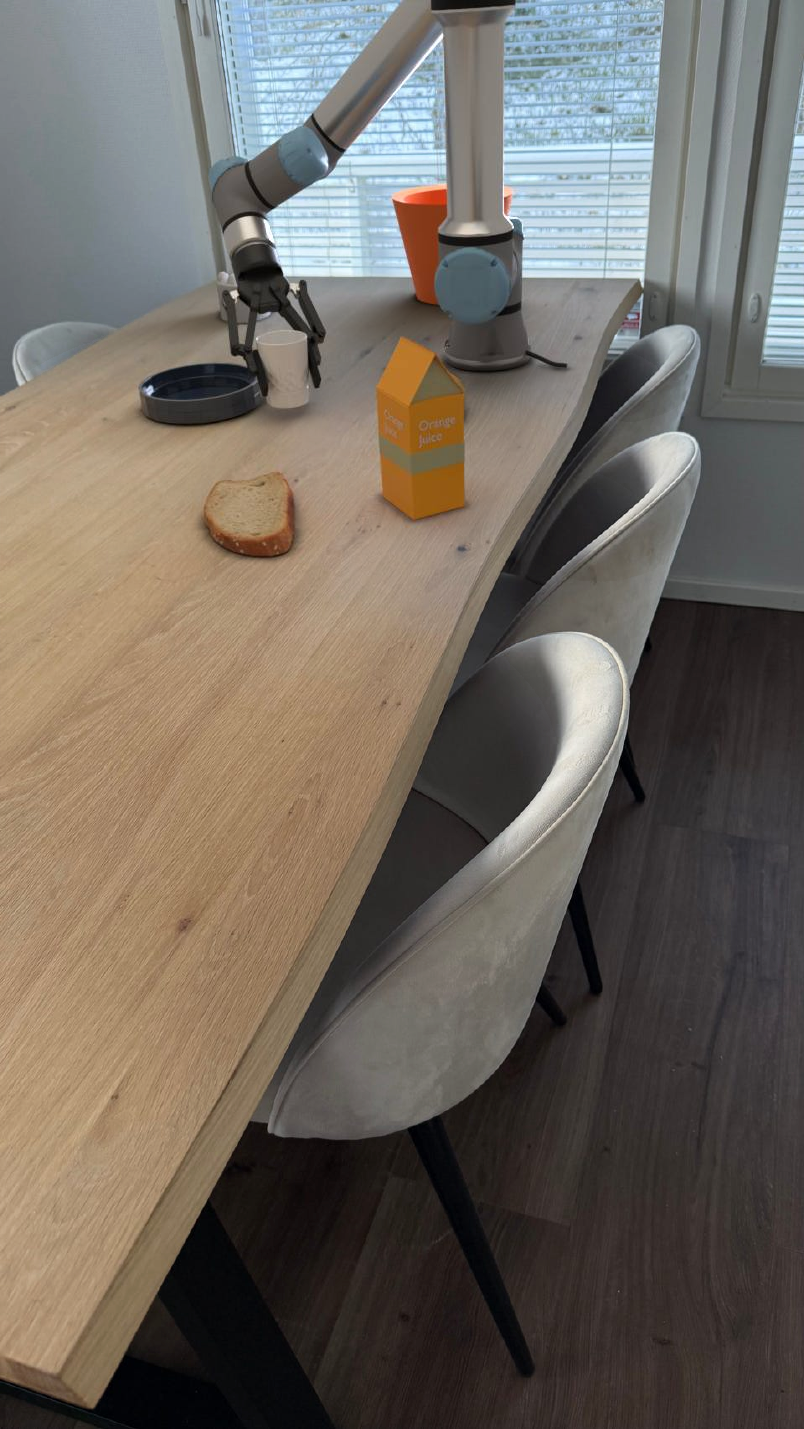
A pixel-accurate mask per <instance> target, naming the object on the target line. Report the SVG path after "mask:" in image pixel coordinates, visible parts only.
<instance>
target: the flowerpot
mask: <svg viewBox="0 0 804 1429" xmlns="http://www.w3.org/2000/svg"><path fill="white" fill-rule="evenodd" d="M514 191H515V190H514V189H513V188H511V187H509V186H505V185H504V214H505V216H506V217H509V214H510V209H511V204H512V199H513V195H514ZM391 200H392V205H393V209H394V212H395V216H396V220H397V224H398V228H399V233H400V236H401V239H402V245H403V247H404V251H405V255H406V256H405V257H406V260H407V263H408V267H409V271H410V275H411V280H412V283H413V286H414V291H415V295H416V298H417V300H418V301H420V302H422V303H425V304H429V305H437V306H440V305H439V303H438V301H437V298H436V295H435V289H434V278H435V273H436V271H437V267H438V265H439V250H438V228H439V227H440V225H441V224H442V223H443V222H444V221H445V219H446V218H447V183H442V184H432V185H431V184H430V185H423V186H416V187H411V188H408V189H403V190H400V191H397V192H395V193H393V194H392V195H391Z"/></svg>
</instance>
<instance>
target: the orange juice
mask: <svg viewBox="0 0 804 1429" xmlns="http://www.w3.org/2000/svg"><path fill="white" fill-rule="evenodd" d="M450 374H451V373H450V371H449V370H448V369H447V368H446V366H445V365H444V364H443V362H442V361H441V359H440V358H439V356H438V355H437V354H436V351H432V350H430V349H429V348H426V347H425V346H422V345H420V344H419V343H416V342H415V341H412V340H411V339H408V338H406V337H404V336H402V335H400V338H399V341H398V343H397V346H396V347H395V349H394V352H393V353H392V355H391V357H390V359H389V361H388V363H387V364H386V368H385V369H384V371H383V374H382V376H381V377H380V380H379V381H378V383H377V385H375V392H376V409H377V425H378V426H377V427H378V428H377V429H378V448H379V457H380V458H379V459H380V474H381V491H382V497H383V498H384V499H385V500H387V501H388V502H390V504H392V505H393V506H395V507H396V508H397V509H398V510H400V511H401V512H402V513H403V514H404V515H407V517H409V518H410V519H411V520H414V521H415V520H418V519H419V520H420V519H422V518H426V517H429V516H435V515H438V514H441V513H445V512H449V511H452V510H456V509H459V508H463V507H465V506H466V503H465V502H466V499H465V497H466V493H465V491H466V490H465V489H466V487H465V462H466V461H465V460H466V459H465V458H466V457H465V456H466V455H465V454H466V453H465V452H466V449H465V446H466V445H465V405H464V393H463V392H462V390H461V389H460V387H459V386H458V385H457V383H456V382H455V380H454V379H453V378H452V376H451V375H450Z"/></svg>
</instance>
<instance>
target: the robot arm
mask: <svg viewBox="0 0 804 1429" xmlns="http://www.w3.org/2000/svg"><path fill="white" fill-rule="evenodd" d="M516 1H517V0H402V1H401V2H400V3H399V4H398V5H397V7H396V8H395V9H394V10H393V11H392V13H391V14H390V16H389V17H388V18H387V19H386V20H385V22H384V23H383V24H382V25H381V27H380V28H379V29H378V31H377V32H376V33H375V34H374V36H372V38H371V39H370V41H369V42H367V44H366V45H365V47H364V48H363V49H362V50H361V51H360V53H359V54H358V55H357V56H356V58H355V59H354V60H353V61H352V63H351V64H350V65H349V67H348V68H347V69H346V70H345V72H344V73H343V74H342V75H341V76H340V78H339V79H338V80H337V82H336V83H335V84H334V85H333V87H332V88H331V89H330V90H329V92H328V93H327V94H326V95H325V96H324V98H323V99H322V100H321V102H320V103H319V104H318V105H317V107H316V108H315V109H314V110H313V112H312V113H311V114H310V115H309V117H308V118H307V119H306V120H305V121H304V123H303V124H301V125H299V126H297V127H296V128H294V129H292V130H290V131H288V132H286V133H284V134H283V135H282V136H281V137H280V138H279V139H277V140H276V141H275V142H274V143H272V144H271V145H269V146H268V147H266V148H265V149H264V150H263V151H261V152H260V153H259V154H258V155H256V156H255V157H254V158H252V159H250V160H249V161H248V160H247V158H244V157H242V156H237V155H230V156H228V157H227V158H226V159H224V158H220V159H218V160H217V161H216V162H215V163H213V165H212V166H211V168H210V169H209V171H208V175H207V176H208V177H207V180H208V186H209V190H210V198H211V202H212V204H213V207H214V209H215V213H216V215H217V219H218V221H219V225H220V229H221V233H222V236H223V240H224V243H225V247H226V251H227V254H228V258H229V260H230V262H231V263H230V265H231V269H233V272H234V276H235V279H236V283H237V290H234V291H231V292H229V291H228V290H223V292H222V301H221V303H222V305H223V307H224V309H225V311H226V313H227V321H226V323H227V331H228V340H229V350H230V355H231V356H232V357H238V356H240V357H242V360H244V361H245V364H246V366H247V368H248V371H249V374H250V375H251V376H255V375H256V376H257V380H258V383H259V387H260V390H261V394H262V398H266V397H267V395H268V389H269V387H268V383H267V380H266V376H265V373H264V370H263V366H262V363H261V359H260V356H259V352H258V349H257V348H256V349H253V345H254V339H255V332H256V327H257V326H256V325H257V321H256V320H257V314H258V313H259V314H265V313H267V312H271V313H278V315H279V316H280V317H281V318H283V319H284V320H285V321H286V322H287V324H288V325H289V326H290V328H291V330H295V331H301V332H304V333H305V334H306V335H307V345H308V365H309V376H310V378H311V381H312V384H313V389H314V390H315V389H320V387H321V383H322V375H321V372H320V369H319V366H321V363H322V355H321V352H320V348H319V344H320V345H322V344H324V342H325V339H326V335H327V331H326V328H325V326H324V324H323V322H322V320H321V318H320V316H319V314H318V311H317V310H316V308H315V306H314V303H313V301H312V299H311V297H310V295H309V292H308V283H307V280H304V279H300V280H299V282H298V283H297V282H289V281H290V280H288V278H286V276H285V274H284V270H283V267H282V264H281V261H280V257H279V253H278V250H277V247H276V243H275V240H274V238H273V237H274V236H273V233H272V231H271V228H270V223H269V220H268V214H269V213H270V212H272V211H273V210H275V209H276V208H277V207H279V206H280V205H282V204H283V203H285V202H286V201H288V200H289V199H292V198H293V197H294V196H296V195H297V194H299V193H301V192H302V191H304V190H305V189H307V188H308V187H310V186H312V185H313V184H315V183H317V182H319V181H321V180H324V179H325V178H327V177H328V176H329V175H330V174H331V173H332V172H333V171H334V170H335V168H336V166H337V165H338V162H339V160H341V159H342V157H343V156H344V154H345V153H346V152H347V151H348V149H349V148H350V147H351V146H352V145H353V143H354V142H355V141H356V140H357V139H358V137H359V136H360V135H361V134H362V133H363V132H364V130H365V129H366V128H367V127H368V126H369V125H370V123H371V122H372V121H373V120H374V119H375V118H376V116H377V115H379V113H380V112H381V110H382V109H383V108H384V107H385V106H386V104H388V102H389V101H390V100H391V99H392V98H393V96H394V95H395V94H396V93H397V92H398V90H400V88H401V87H402V86H403V85H404V84H405V82H406V81H407V80H408V79H409V78H410V76H412V74H413V73H414V72H415V71H416V69H417V68H418V67H419V66H420V65H421V64H422V62H423V61H424V60H425V59H426V57H427V56H428V55H429V54H430V53H431V52H432V50H433V49H434V48H435V47H436V46H437V45H438V43H439V42H440V41H441V40H442V56H443V57H442V58H443V60H442V62H443V64H442V65H443V98H444V99H443V100H444V102H443V104H444V137H445V141H444V142H445V173H446V174H445V176H446V177H445V179H446V181H445V182H446V184H447V218H446V219H445V221H444V222H443V223H442V224H441V225H440V227H439V228H438V250H439V265H438V267H437V271H436V273H435V278H434V289H435V295H436V298H437V301H438V303H439V305H438V306H439V307H440V308H441V310H442V311H443V312H444V313H445V314H446V315H447V316H448V317H449V318H451V319H452V323H451V326H450V330H449V333H448V338H447V339H446V340H445V341H444V346H443V347H444V361H445V362H446V364H448V365H449V366H451V367H454V368H455V369H458V370H459V369H460V370H464V371H465V370H466V371H473V372H493V371H494V372H495V371H496V372H497V371H503V370H511V369H515V368H517V367H521V366H523V365H525V364H527V363H528V362H529V361H530V360H531V358H532V359H535V360H538V361H540V362H542V363H544V364H545V365H549V366H550V367H554V368H562V369H567V368H568V363H566V362H556V361H553V360H550V359H548V358H547V357H544V356H542V355H540V354H537V353H535V352H532V346H531V345H532V344H531V342H530V340H529V337H528V333H527V328H526V324H525V321H524V317H523V313H522V311H523V310H522V304H523V300H522V299H523V256H524V255H523V252H524V251H523V250H524V248H523V246H524V240H525V234H524V224H523V222H522V220H521V219H520V218H519V217H515V216H508V217H506V216H505V214H504V186H505V178H504V177H505V166H504V165H505V24H506V22H507V20H508V19H509V17H510V16H511V14H512V13H513V12H514V10H515V9H516ZM289 293H292V295H293V297H294V299H295V300H297V302H298V305H299V307H300V309H301V312H302V314H303V316H304V318H305V320H306V321H305V320H304V319H303V318H302V317H301V315H300V314H299V313H298V312H297V310H296V309H295V308H294V306H293V305H292V303H291V300H290V299H289V298H288V294H289ZM237 299H239V300H241V301H242V302H243V303H244V304H246V305H247V306H248V307H249V308H250V312H249V319H248V323H247V326H246V332H245V337H244V343H240V336H239V335H240V334H239V328H238V327H239V326H238V323H237V317H236V308H235V307H236V305H237Z"/></svg>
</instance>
